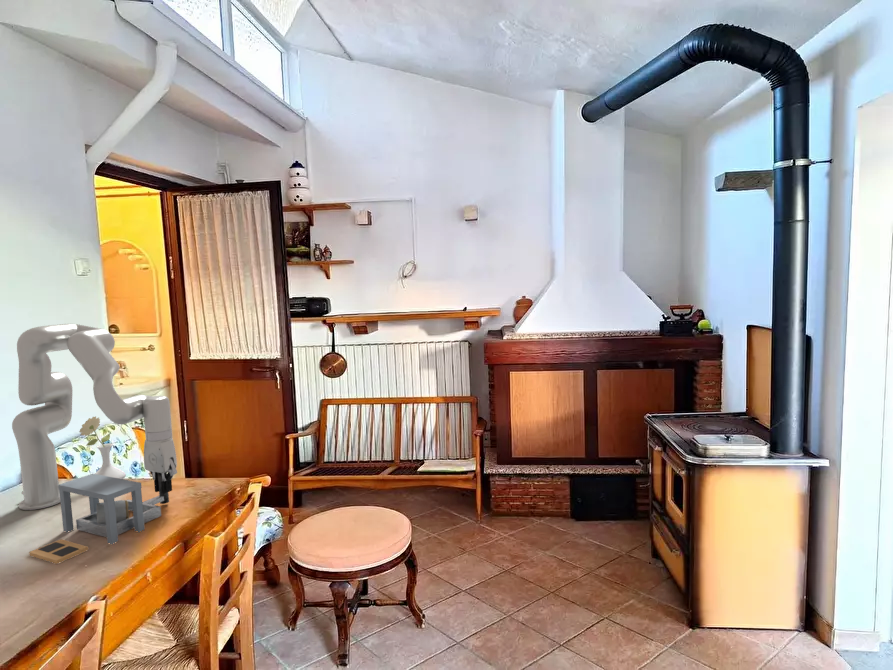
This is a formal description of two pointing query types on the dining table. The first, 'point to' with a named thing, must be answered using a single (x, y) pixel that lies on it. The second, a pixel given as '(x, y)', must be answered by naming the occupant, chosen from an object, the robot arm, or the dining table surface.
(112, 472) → the flower in vase
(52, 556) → the board
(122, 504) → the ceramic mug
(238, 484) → the dining table surface
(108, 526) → the grey side table
